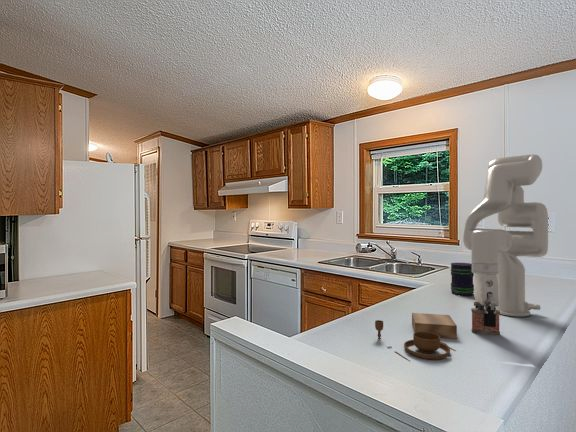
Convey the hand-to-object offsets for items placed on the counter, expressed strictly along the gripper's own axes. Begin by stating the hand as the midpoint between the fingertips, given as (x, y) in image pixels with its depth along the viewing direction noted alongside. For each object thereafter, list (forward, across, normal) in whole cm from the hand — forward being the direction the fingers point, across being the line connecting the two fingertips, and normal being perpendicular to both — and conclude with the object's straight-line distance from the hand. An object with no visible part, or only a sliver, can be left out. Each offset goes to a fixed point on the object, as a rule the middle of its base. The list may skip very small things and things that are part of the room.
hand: (485, 322), depth 111 cm
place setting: (+5, -17, +22) cm, 28 cm away
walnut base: (+4, -2, +16) cm, 16 cm away
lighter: (+4, 0, 0) cm, 4 cm away
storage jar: (+3, +57, -5) cm, 58 cm away
